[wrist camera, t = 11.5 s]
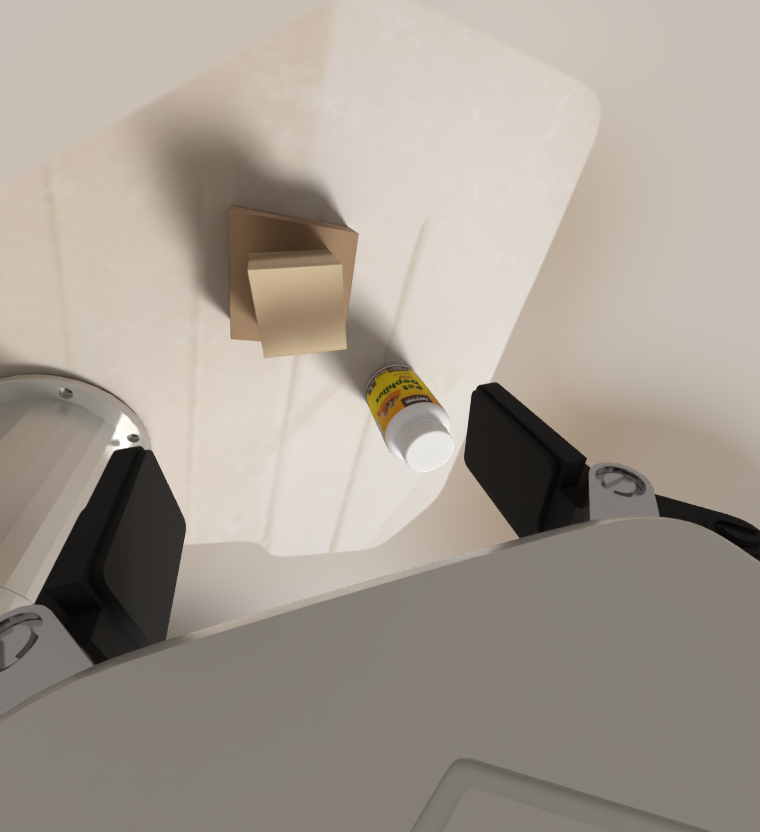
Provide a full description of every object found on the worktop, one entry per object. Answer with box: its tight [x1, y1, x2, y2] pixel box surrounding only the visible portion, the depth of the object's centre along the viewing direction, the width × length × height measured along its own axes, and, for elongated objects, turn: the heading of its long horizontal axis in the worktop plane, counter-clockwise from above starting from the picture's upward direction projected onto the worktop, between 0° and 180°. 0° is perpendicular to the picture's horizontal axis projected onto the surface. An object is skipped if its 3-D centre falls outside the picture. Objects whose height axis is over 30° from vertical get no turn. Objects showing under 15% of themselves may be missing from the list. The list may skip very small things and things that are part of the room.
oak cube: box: [248, 249, 347, 358], centre depth 23 cm, size 5×5×5 cm
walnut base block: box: [228, 206, 359, 341], centre depth 27 cm, size 8×8×4 cm
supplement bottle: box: [365, 365, 454, 472], centre depth 32 cm, size 6×6×10 cm
